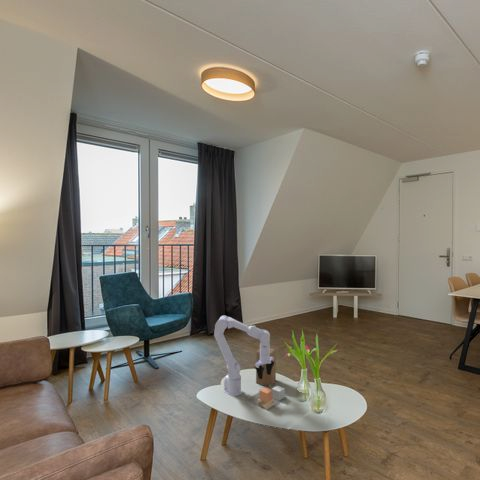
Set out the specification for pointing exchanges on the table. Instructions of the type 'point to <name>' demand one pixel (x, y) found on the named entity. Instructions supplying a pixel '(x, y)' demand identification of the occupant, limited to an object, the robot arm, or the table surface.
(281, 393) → the blue-grey cube
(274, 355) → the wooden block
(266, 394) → the terracotta cube
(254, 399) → the grey square mat
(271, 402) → the maple block
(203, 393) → the table surface
